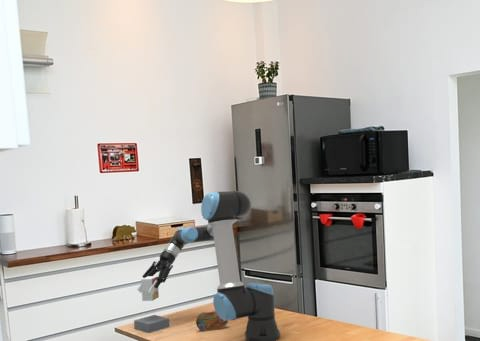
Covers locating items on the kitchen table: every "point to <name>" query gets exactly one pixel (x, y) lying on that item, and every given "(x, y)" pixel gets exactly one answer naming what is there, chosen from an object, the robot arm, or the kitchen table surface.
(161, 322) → the block
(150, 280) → the white upright block
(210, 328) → the tin
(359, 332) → the kitchen table surface
